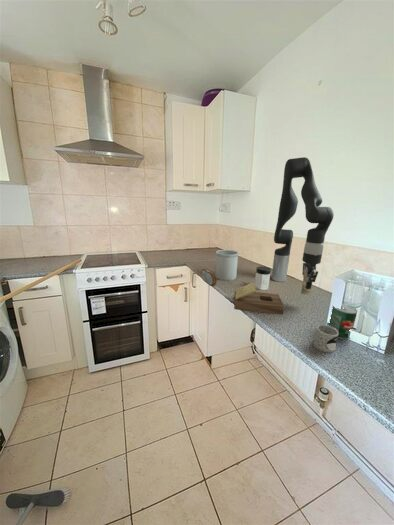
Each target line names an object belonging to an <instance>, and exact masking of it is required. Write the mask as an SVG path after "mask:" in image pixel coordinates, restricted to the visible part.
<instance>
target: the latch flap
mask: <svg viewBox="0 0 394 525" xmlns="http://www.w3.org/2000/svg"><path fill="white" fill-rule="evenodd" d="M235 290H236V300H238V299H240V298H243V297H245V296H247V295H250V294H252V293H255V292H257V288H255V281H254V282H251V283H248V284H245V285H243V286H241V287H238V288H236V289H235Z"/></svg>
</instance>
